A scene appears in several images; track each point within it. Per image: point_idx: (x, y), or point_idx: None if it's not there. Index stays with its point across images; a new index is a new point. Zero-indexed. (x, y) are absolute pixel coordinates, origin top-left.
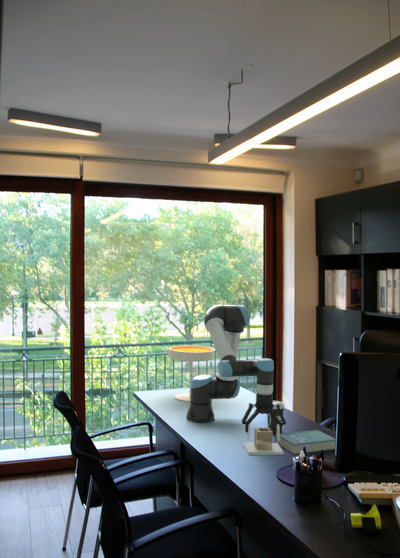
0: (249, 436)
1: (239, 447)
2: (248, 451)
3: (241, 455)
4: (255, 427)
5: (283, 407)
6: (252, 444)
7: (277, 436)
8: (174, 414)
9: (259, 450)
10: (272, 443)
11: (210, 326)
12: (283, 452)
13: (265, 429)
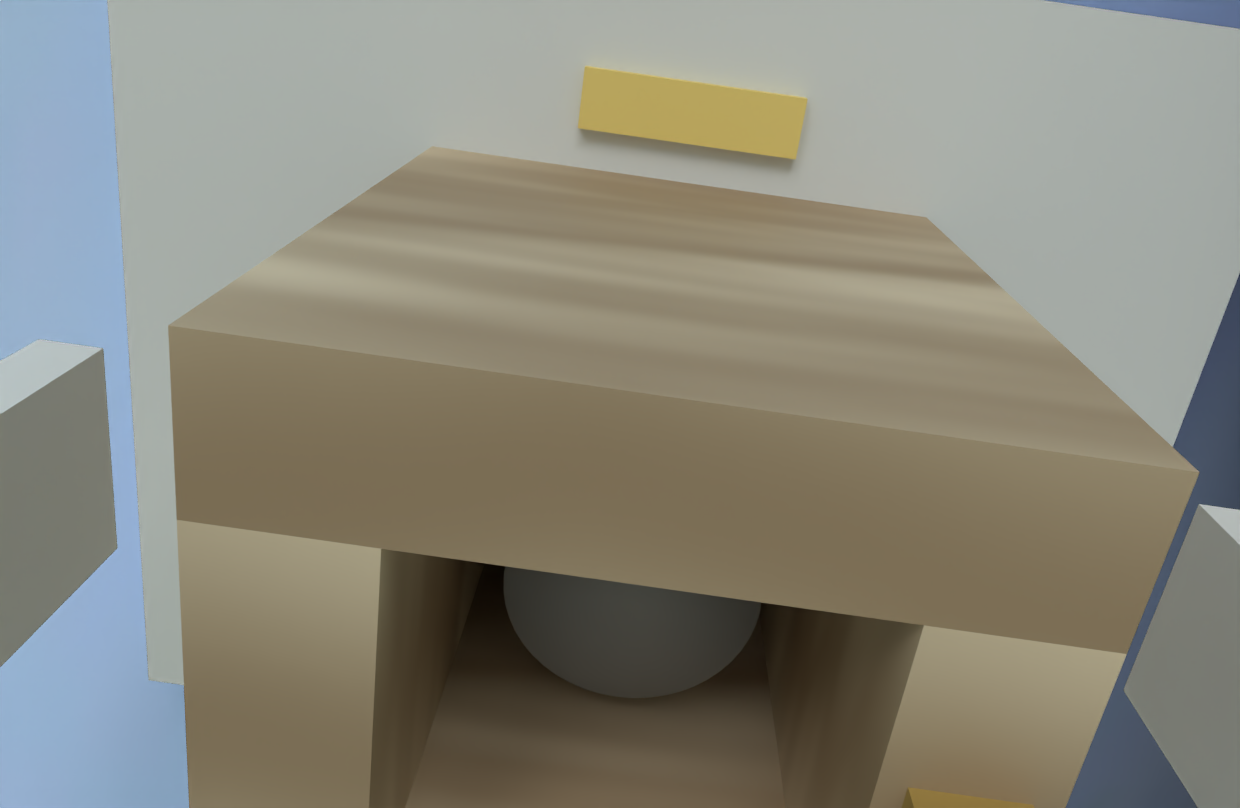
0: (20, 628)
1: (6, 79)
2: (169, 645)
3: (31, 646)
4: (233, 328)
5: None
6: (385, 111)
7: (1208, 714)
8: None
9: None
10: (1109, 97)
11: None
12: None
13: (823, 575)
